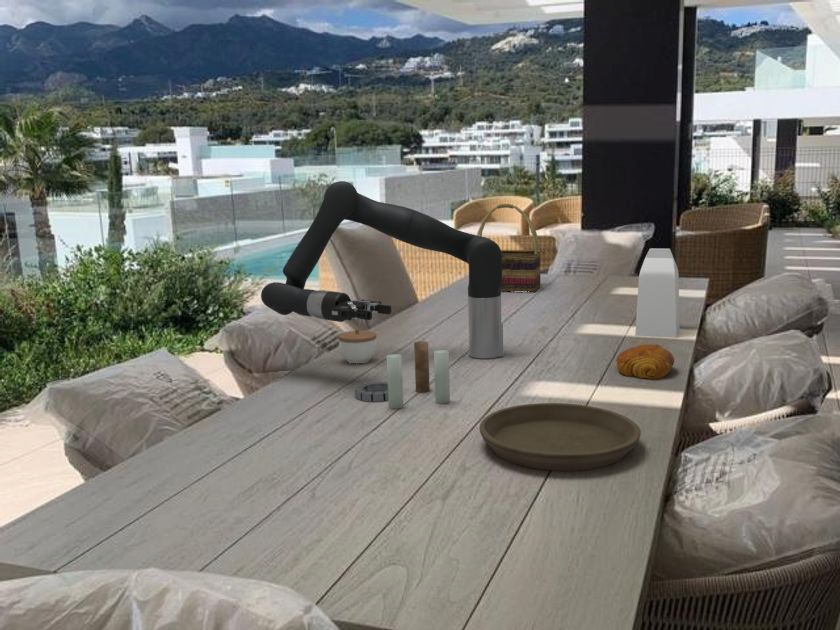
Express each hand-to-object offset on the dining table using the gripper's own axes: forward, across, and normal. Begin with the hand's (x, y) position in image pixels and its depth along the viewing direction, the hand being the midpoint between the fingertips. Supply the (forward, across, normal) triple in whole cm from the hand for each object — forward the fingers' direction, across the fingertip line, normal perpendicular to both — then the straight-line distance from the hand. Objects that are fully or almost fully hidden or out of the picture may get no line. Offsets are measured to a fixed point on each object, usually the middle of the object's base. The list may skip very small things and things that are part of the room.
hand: (381, 312), depth 209 cm
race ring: (+4, -8, +18) cm, 21 cm away
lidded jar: (-19, +17, +19) cm, 32 cm away
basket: (-31, +140, +17) cm, 145 cm away
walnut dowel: (+12, 0, +18) cm, 22 cm away
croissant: (+56, +39, +16) cm, 70 cm away
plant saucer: (+56, -21, +17) cm, 63 cm away
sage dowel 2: (+21, -6, +18) cm, 28 cm away
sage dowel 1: (+13, -14, +18) cm, 26 cm away
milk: (+46, +85, +15) cm, 98 cm away
